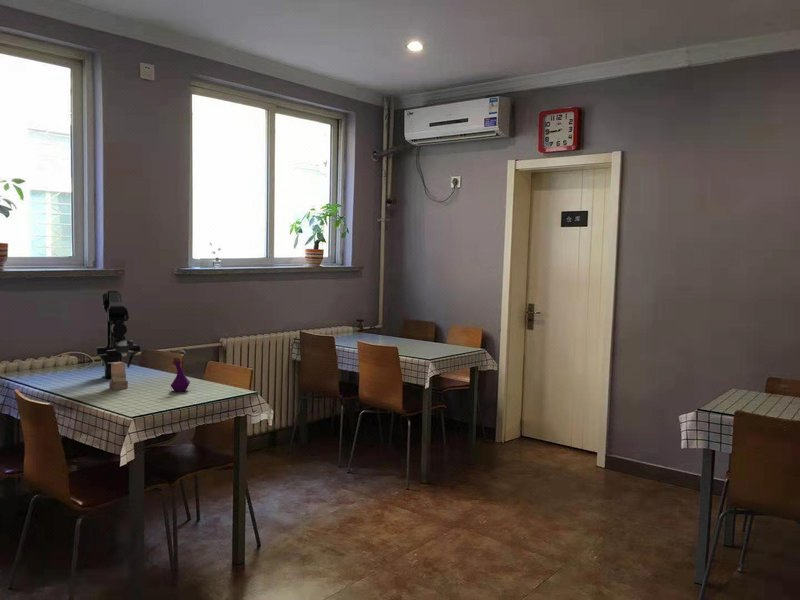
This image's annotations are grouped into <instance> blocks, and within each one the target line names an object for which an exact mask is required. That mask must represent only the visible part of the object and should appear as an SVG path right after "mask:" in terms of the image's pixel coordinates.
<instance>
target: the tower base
mask: <svg viewBox="0 0 800 600" xmlns="http://www.w3.org/2000/svg"><path fill="white" fill-rule="evenodd" d="M128 382H129V381H128V380H126V381H123V382H113V381H112V380H109V383H108V385H109V387H108V388H109V389H110V390H115V391H119V390H124V389H129V388H128V387H129V383H128Z"/></svg>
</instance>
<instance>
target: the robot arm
mask: <svg viewBox="0 0 800 600" xmlns="http://www.w3.org/2000/svg"><path fill="white" fill-rule="evenodd" d="M101 306H102V308H103V310H104V311H105V313H106V344H105V346H94V348H93V351H92V352H93V354H95V355H96V356H98V357H99V358H100V359H101V360H100V363H101V366H102V367H104V375H102V378H103V379H106V380H108V379H111V363H113V362H123V357H124V356H123V354H122V353H123V352H124V353H126V367H127V369H130V366H131V363H132V360H133V358H134V356H135V355H137V354H138V353H139V352H141V351H142V349H141V346H140V344H136V343H134V341H133V340H132V339H131V340H129V339H128V340H126V336H125V335H126V334H127V332H128V327H127V325H126V324H125V322H128V320H129V318H130V317H129V310H128V308H127V307H126V305H125V304H124V303H122V294H121V293H120V291H119V290H117V289H116V290H115V289H114V290H113V289H112V290H110V289H109V290H107V291H106V292H105V293H103V294H102V295H101Z"/></svg>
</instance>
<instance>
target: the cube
mask: <svg viewBox="0 0 800 600" xmlns="http://www.w3.org/2000/svg"><path fill="white" fill-rule="evenodd" d="M111 373H113V374H122V373H126V362H124V361H122V362H113V363H111Z"/></svg>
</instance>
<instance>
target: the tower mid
mask: <svg viewBox="0 0 800 600" xmlns="http://www.w3.org/2000/svg"><path fill="white" fill-rule="evenodd" d="M110 381H113V382H123V381H127V373H126V372H125V373H122V374H113V373H111V378H110Z"/></svg>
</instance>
